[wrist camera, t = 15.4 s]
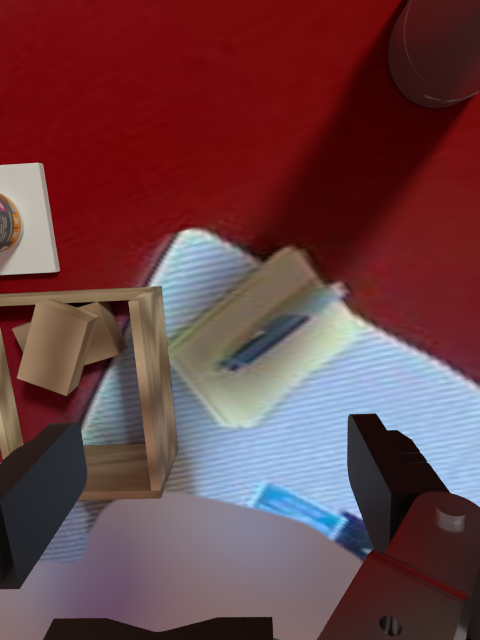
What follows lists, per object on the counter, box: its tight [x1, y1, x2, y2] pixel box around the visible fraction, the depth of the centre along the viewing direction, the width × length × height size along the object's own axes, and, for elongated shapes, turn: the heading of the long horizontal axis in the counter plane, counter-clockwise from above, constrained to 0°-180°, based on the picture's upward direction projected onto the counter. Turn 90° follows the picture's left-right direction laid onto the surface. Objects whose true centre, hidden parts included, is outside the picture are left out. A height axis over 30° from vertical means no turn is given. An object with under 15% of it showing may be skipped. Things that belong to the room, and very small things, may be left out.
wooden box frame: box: [0, 286, 178, 500], centre depth 38 cm, size 18×18×8 cm
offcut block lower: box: [12, 301, 127, 365], centre depth 40 cm, size 6×9×3 cm, turn 108°
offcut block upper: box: [17, 298, 99, 396], centre depth 37 cm, size 5×8×2 cm, turn 159°
